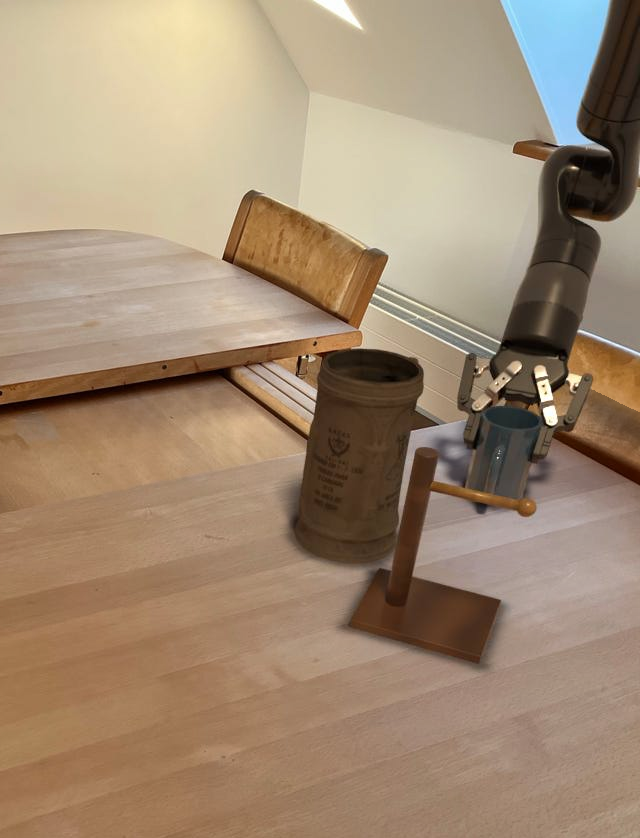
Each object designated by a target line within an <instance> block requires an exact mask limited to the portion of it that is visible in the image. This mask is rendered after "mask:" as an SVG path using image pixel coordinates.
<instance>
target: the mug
mask: <svg viewBox="0 0 640 838" xmlns="http://www.w3.org/2000/svg"><path fill="white" fill-rule="evenodd" d="M542 425H543V421H542V419H541V417H540V415H539V414H537V413H536V412H534V411H531V410H529V409H526V408H522V407H517V406H513V405H496V406H494V407H489V408H487V409H485V410H483V412H482V414H481V418H480V422H479V427H478V431H477V436H476V440H475V444H474V449H473V450H472V453H471V456H470V457H471V458H470V463H469V466H468V470H467V475H466V479H465V485H464V488H467V489H471V490H476V491H480V492H484V493H489V494H493V495H498V496H502V497H506V498H511V499H515V500H522V499H523V495H524V492H525V489H526V486H527V481H528V478H529V474H530V470H531V468H532V464H533V463H531V459H532V455H533V452H534V449H535V445H536V442H537V439H538V436H539V433H540V430H541V427H542Z"/></svg>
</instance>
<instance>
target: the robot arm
mask: <svg viewBox="0 0 640 838" xmlns="http://www.w3.org/2000/svg"><path fill="white" fill-rule="evenodd" d="M601 33H602V34H601V37H600V41H599V44H598V48H597V51H596V54H595V57H594V60H593V64H592V66H591V68H590V72H589V75H588V77H587V78H588V79H587V81H586V84H585V88H584V91H583V93H582V97H581V100H580V103H579V105H578V109H577V113H576V119H575V123H576V124H575V125H576V128H577V130H578V132H579V133H580V134H581V135H582V136H583V137H584V138H586V139H587V140H589V141H591V142H593V143H595V144H597V145H598V146H601V147H602V148H605V149H606V150H603V149H597V148H591V147H586V146H580V145H573V144H569V145H568V144H566V145H562V146H559V147H558V148H557V149H555V150H554V151H552V153H550V154H549V155H548V157H547V158H546V159H545V161H544V162H543V164H542V167H541V169H540V173H539V177H538V183H537V212H538V213H537V229H536V236H535V239H534V243H533V244H534V245H533V248H532V251H531V254H530V256H529V261H528V264H527V266H526V270H525V273H524V276H523V278H522V279H521V283H520V284H519V286H518V288H517V291H516V294H515V297H514V300H513V303H512V306H511V308H510V309H511V310H510V313H509V316H508V319H507V322H506V325H505V328H504V331H503V335H502V337H501V341H500V344H499V347H498V350H497V351H496V352H495V354H494V355H493V356H492V357H491V358H486V357H478V356H477V354H476V353H474V352H469V353H467V354H466V355H465V358H464V365H463V369H462V373H461V379H460V383H459V388H458V392H457V396H456V398H457V399H456V400H457V401H456V402H457V403H456V404H457V409H458V410H459V411H460V412H465V413H466V414H467V415H468V417H467V421H466V424H465V427H464V430H463V433H462V441H463V444H465V445H466V450H470V451H473V449H474V444H475V440H476V436H477V431H478V427H479V422H480V418H481V414H482V412H483V410H485V409H487V408H489V407H494V406H498V404H499V403H500V402H501V401H502V400H503V399H504V401H506V402H511V403H512V402H514V403H515V402H519V403H522V404H524V405H528V406H532V407H533V406H534V405H536V407H537V411H538V416H540V417H541V419H542V421H543V424H542V427H541V430H540V433H539V436H538V439H537V442H536V445H535V449H534V452H533V455H532V459H531V463H532V464H536V465H538V463H539V460H543V461H544V460H545V459H546V458H547V457H548V453H549V451H550V447H551V444H552V440H553V438H554V435H555V434H556V433H558V432H565V433H570V432H573V431H574V429H575V427H576V425H577V422H578V419H579V418H580V415H581V413H582V411H583V408H584V406H585V404H586V402H587V399H588V397H589V394H590V392H591V389H592V385H593V382H594V376H593V374H592V373H589V372H587V373H584V374H583V375H580V374H576V373H574V372H573V373H572V372H570V371H569V366H568V363H569V360H570V357H571V353H572V351H573V348H574V345H575V340H576V338H577V335H578V331H579V327H580V326H581V323H582V321H583V318H584V317H583V316H584V311H585V308H586V304H587V300H588V295H589V294H588V293H589V289H590V285H591V281H592V278H593V275H594V272H595V269H596V265H597V262H598V258H599V256H600V252H601V248H602V238H601V235H600V234H599V232H598V231H597V230H596V229H595V228H594V227H593V226H592V225H589V224H588V223H587V222H584V221H582V220H581V219H584V220H585V219H586V220H590V221H595V222H601V223H609V222H613V221H615V220H617V219H619V218H620V217H622V216H623V215H624V214H625V213H626V212H627V211H628V210H629V209H630V207H631V205H632V204H633V201H634V200H635V198H636V195H637V190H638V184H639V178H640V177H639V173H640V0H609V2H608V7H607V12H606V17H605V21H604V26H603V30H602V32H601ZM578 218H580V219H578ZM485 371H489V373H490V376H491V378H492V380H493V381H492V382H491V383H490V384H488V386H487V387H486V388H485V390H484V391H483V393H481V394H480V395H479V396H478V398H476V399H475V398H473V397H471V396H472V391H473V386H474V382H475V379H479V378H482V375H483V373H484V372H485ZM565 385H567V386H568V394H569V395H570V396H572V398H571V401H570V403H569V406H568V409H567V411H566V413H565V414H563V415H557V411H556V408H555V401H554V397H553V394H554V393H556V392H557V391H558V390H560V388H562V387H563V386H565Z"/></svg>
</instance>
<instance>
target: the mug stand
mask: <svg viewBox="0 0 640 838" xmlns="http://www.w3.org/2000/svg"><path fill="white" fill-rule="evenodd" d="M439 456H440V452H439V451H438V450H437V449H436V448H433V447H428V446H421V447H417V448H416V449H415V451H414V455H413V461H412V466H411V469H410V475H409V480H408V484H407V490H406V494H405V501H404V505H403V511H402V514H401V519H400V523H399V524H400V525H399V528H398V533H397V538H396V545H395V548H394V554H393V559H392V564H391V568H390V570H389V569H386V568H381V567H379V568H378V569H377V570H376V573H375V575H374V576H373V578H372V580H371V582H370V584H369V586H368V587H367V589H366V590H365V592H364V594H363V596H362V598H361V600H359V601H360V602H359V603H358V605H357V607H356V609H355V610H354V611H353V614H352V616H351V618H349V619H350V620H349V624H348V627H349V628H351V629H354V630H358V631H362V632H365V633H369V634H371V635H372V634H373V635H376V636H379V637H382V638H386V639H390V640H393V641H397V642H400V643H404V644H406V645H410V646H413V647H417V648H421V649H424V650H428V651H431V652H435V653H438V654H442V655H445V656H448V657H452V658H455V659H459V660H463V661H466V662H469V663H473V664H477V665H480V664H481V660H482V658H483V654H484V651H485V649H486V646H487V644H488V640H489V637H490V634H491V633H492V629H493V626H494V624H495V621H496V618H497V614H498V612H499V610H500V606H501V602H502V599H499V598H495V597H492V596H488V595H484V594H481V593H477V592H472V591H469V590H466V589H463V588H462V589H461V588H457V587H454V586H451V585H446V584H443V583H438V582H435V581H431V580H427V579H424V578H420V577H417V576H413V575H414V570H415V566H416V562H417V557H418V553H419V547H420V544H421V538H422V535H423V529H424V525H425V520H426V515H427V512H428V508H429V502H430V498H431V494H432V492H434V493H436V494H437V493H438V494H442V495H446V496H450V497H454V498H458V499H462V500H463V499H464V500H467V501H471V502H476V503H481V504H484V505H488V506H493V507H497V508H503V509H505V510H510V511H516V512H517V514H518V515H519V516H520V517H522V518H530V517H532V516H533V515H534V514H536V511H537V503H536V501H535V500H534V499H532V498H529V497H523V498H521V499H520V500H515V499H511V498H506V497H502V496H498V495H493V494H489V493H484V492H480V491H476V490H471V489H467V488H465V487H462V486H458V485H453V484H449V483H444V482H441V481H435V475H436V471H437V467H438V462H439Z"/></svg>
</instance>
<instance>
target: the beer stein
mask: <svg viewBox="0 0 640 838" xmlns="http://www.w3.org/2000/svg"><path fill="white" fill-rule="evenodd" d="M424 378H425V371H424V368H423V366H422V365H421V364H420V363H419V359H418V358H417V357H414V356H413V357H412V356H406V355H403V354H401V353H398V352H393V351H389V350H384V349H378V348H360V347H358V348H357V347H356V348H346V349H341V350H337V351H333V352H331V353H328V354H327V355H326V356H325V357H324V358H323V359H322V362H321V366H320V370H319V371H318V373H317V376H316V381H317V389H316V397H315V406H314V411H313V419H312V421H311V423H310V425H309V431H308V436H307V441H306V448H305V449H306V451H305V457H304V458H305V459H304V465H303V472H302V479H301V485H300V493H299V499H298V515H299V518H298V519H297V522H296V524H295V528H294V532H293V533H294V538H295V540H296V541H297V543H298V544H299V545H300V546H301V547H302V548H303V549H304V550H306V551H307V552H309V553H311V554H312V555H314V556H316V557H318V558H321V559H325V560H327V561H331V562H336V563H342V564H352V565H353V564H354V565H356V564H360V565H361V564H368V563H373V562H377V561H380V560H382V559H385V558H387V557H388V556H389V555H390V554H393V552H394V551H395V549H396V544H397V534H396V530H397V528H398V526H400V525H399V524H400V514H399V505H400V499H401V497H400V496H401V491H402V490H401V489H402V484H403V478H404V473H405V472H404V471H405V466H406V460H407V456H408V449H409V442H410V438H411V434H412V428H413V423H414V417H415V413H416V409H417V403H418V400H419V398H420V397H421V396H422V395H423V392H424V389H425V385H424V384H425V383H424Z"/></svg>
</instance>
